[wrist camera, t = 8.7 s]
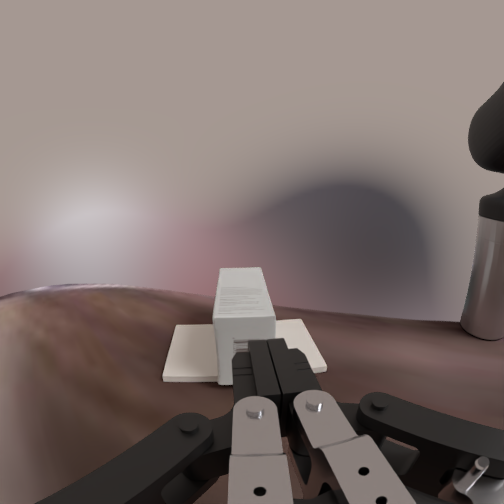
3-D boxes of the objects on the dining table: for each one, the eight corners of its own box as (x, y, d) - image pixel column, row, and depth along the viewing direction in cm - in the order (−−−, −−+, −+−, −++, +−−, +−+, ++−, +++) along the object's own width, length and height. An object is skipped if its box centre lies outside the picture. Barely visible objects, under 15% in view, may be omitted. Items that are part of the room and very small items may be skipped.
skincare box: (217, 386, 26) (219, 322, 41) (277, 383, 27) (260, 321, 41) (211, 312, 25) (216, 267, 39) (280, 310, 25) (261, 265, 40)
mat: (300, 323, 41) (300, 318, 41) (326, 371, 30) (327, 365, 29) (177, 329, 40) (176, 324, 39) (163, 381, 28) (162, 376, 28)
